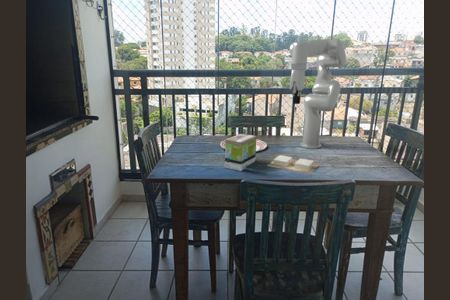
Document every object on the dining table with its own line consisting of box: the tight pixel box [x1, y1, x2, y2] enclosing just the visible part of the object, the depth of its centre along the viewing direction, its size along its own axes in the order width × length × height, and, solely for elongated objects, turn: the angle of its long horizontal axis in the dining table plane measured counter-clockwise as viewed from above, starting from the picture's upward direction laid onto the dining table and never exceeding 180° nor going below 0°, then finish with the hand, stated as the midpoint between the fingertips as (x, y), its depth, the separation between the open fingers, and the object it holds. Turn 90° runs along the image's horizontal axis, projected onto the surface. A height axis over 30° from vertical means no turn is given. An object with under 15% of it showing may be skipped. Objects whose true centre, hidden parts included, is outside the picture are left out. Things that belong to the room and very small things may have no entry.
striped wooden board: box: [266, 158, 320, 175], centre depth 161 cm, size 16×22×1 cm
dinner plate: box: [220, 138, 268, 153], centre depth 191 cm, size 27×27×3 cm
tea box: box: [224, 133, 257, 172], centre depth 161 cm, size 15×10×15 cm
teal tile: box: [294, 158, 315, 171], centre depth 157 cm, size 2×7×8 cm
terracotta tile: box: [272, 155, 293, 167], centre depth 163 cm, size 2×7×8 cm
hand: (296, 103), depth 169 cm, fingers closed
